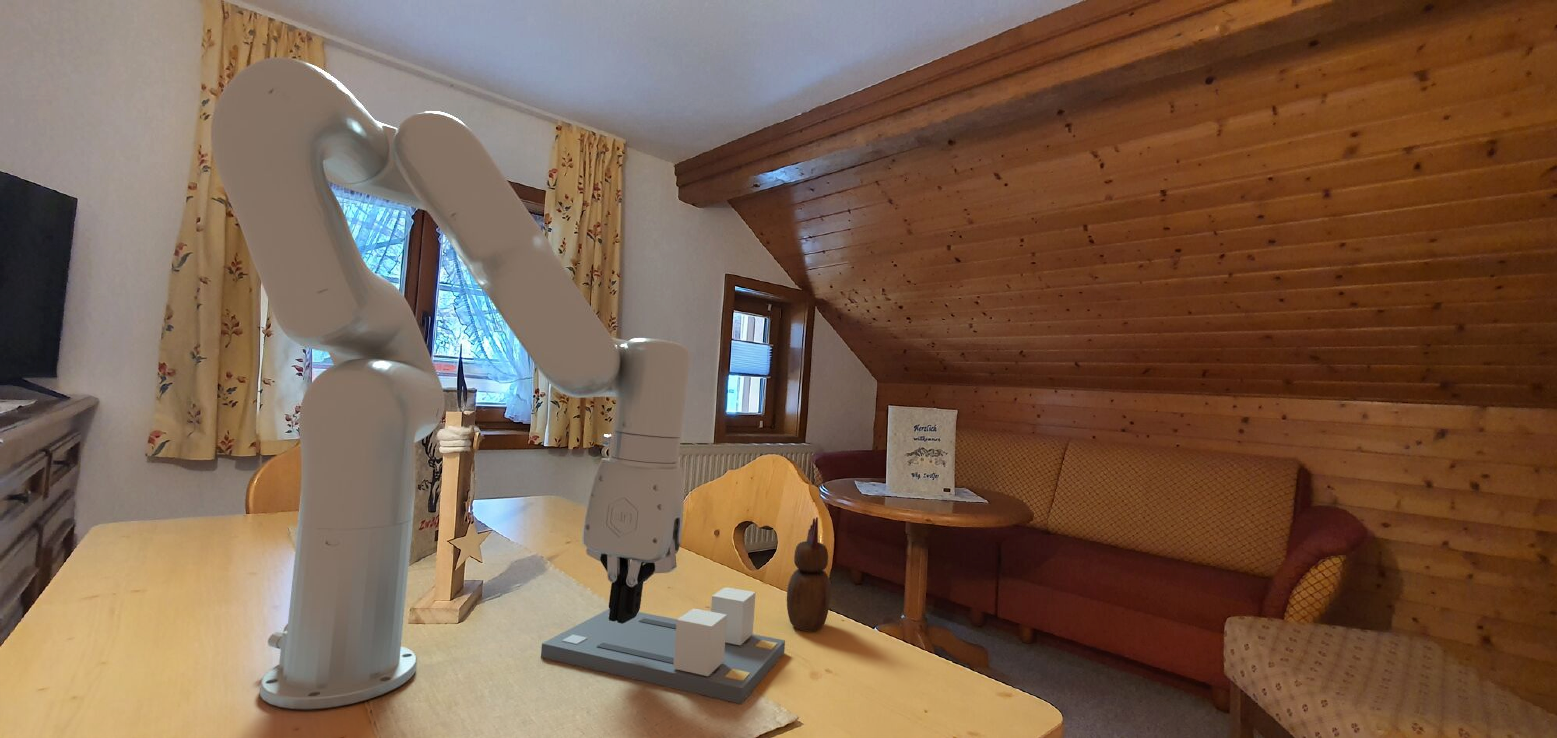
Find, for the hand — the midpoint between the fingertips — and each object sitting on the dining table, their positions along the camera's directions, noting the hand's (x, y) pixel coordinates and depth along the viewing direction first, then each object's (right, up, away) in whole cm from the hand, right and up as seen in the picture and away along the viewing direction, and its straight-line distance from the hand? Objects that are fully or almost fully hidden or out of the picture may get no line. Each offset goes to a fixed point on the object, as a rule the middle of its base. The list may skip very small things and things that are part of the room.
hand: (622, 618), depth 69 cm
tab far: (+11, -5, +7) cm, 14 cm away
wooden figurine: (+21, -8, +16) cm, 28 cm away
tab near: (+9, -4, -2) cm, 10 cm away
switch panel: (+4, -6, +4) cm, 8 cm away
